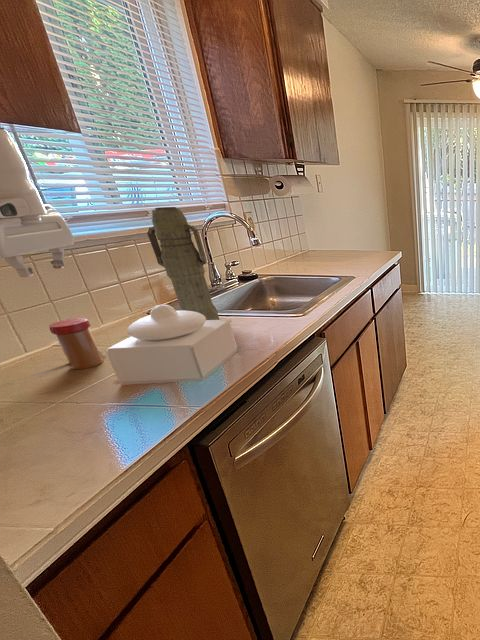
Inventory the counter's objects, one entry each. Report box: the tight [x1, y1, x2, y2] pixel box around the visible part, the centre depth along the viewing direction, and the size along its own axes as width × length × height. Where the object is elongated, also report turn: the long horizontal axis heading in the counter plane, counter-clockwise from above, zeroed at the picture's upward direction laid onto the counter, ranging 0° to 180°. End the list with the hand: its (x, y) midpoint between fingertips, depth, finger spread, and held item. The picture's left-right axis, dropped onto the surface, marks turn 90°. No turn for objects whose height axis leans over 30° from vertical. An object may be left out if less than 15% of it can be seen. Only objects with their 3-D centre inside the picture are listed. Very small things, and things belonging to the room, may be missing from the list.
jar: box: [54, 327, 104, 370], centre depth 97 cm, size 6×6×10 cm
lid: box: [48, 317, 91, 335], centre depth 95 cm, size 7×7×2 cm
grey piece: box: [146, 206, 221, 320], centre depth 112 cm, size 9×12×35 cm
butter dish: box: [105, 303, 239, 386], centre depth 94 cm, size 18×18×16 cm
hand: (44, 272), depth 90 cm, fingers open, 8 cm apart
